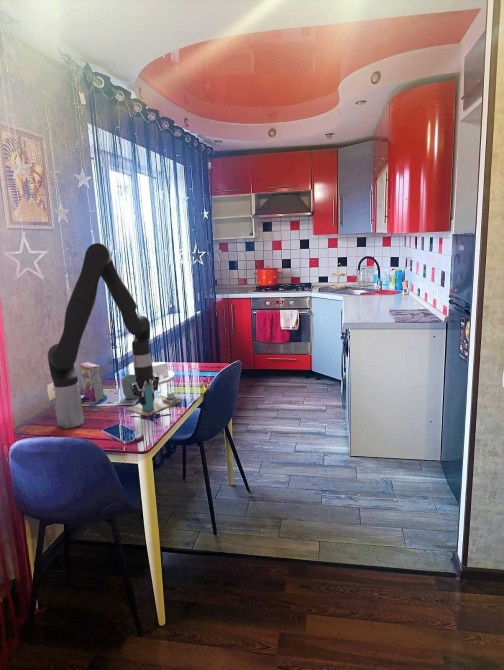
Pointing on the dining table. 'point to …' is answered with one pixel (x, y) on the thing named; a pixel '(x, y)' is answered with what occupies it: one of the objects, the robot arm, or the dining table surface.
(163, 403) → the clipboard
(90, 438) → the dining table surface
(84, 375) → the candy bar box
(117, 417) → the dining table surface
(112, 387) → the dining table surface
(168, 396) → the button
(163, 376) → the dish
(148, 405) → the teal rectangular block
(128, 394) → the cup
